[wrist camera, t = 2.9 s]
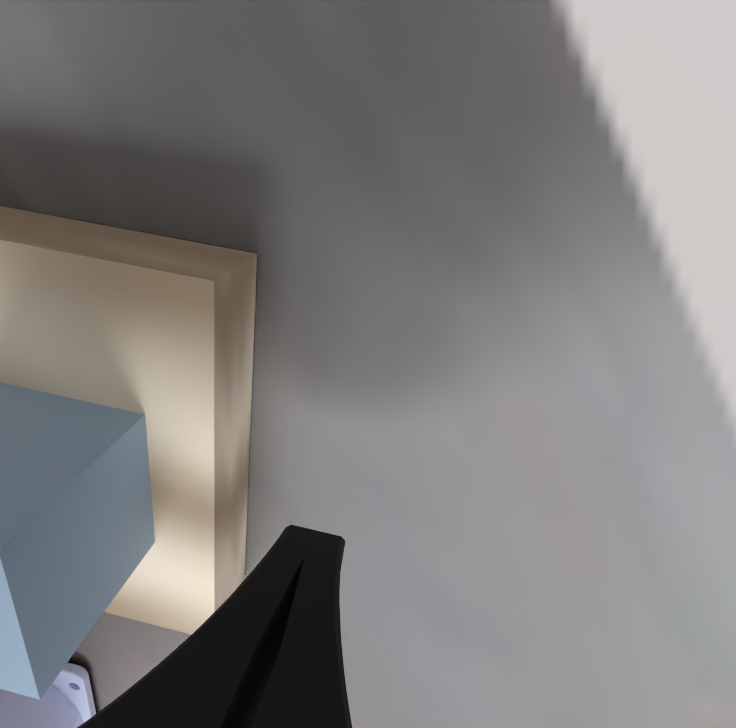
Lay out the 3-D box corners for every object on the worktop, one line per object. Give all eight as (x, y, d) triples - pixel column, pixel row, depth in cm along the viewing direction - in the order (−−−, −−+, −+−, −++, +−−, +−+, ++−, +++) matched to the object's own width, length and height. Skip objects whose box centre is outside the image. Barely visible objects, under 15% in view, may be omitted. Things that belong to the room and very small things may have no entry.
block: (155, 542, 14) (40, 699, 10) (15, 508, 15) (-148, 648, 11) (145, 414, 12) (-2, 549, 8) (-17, 378, 13) (-231, 492, 9)
